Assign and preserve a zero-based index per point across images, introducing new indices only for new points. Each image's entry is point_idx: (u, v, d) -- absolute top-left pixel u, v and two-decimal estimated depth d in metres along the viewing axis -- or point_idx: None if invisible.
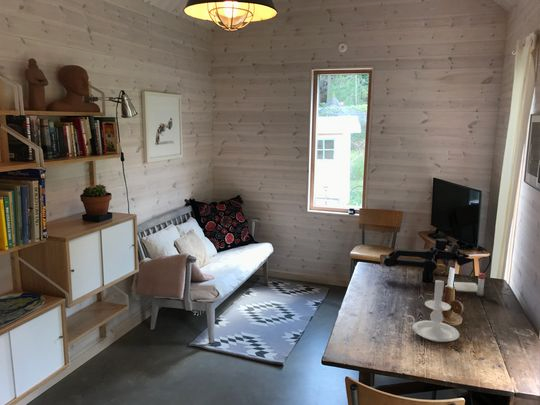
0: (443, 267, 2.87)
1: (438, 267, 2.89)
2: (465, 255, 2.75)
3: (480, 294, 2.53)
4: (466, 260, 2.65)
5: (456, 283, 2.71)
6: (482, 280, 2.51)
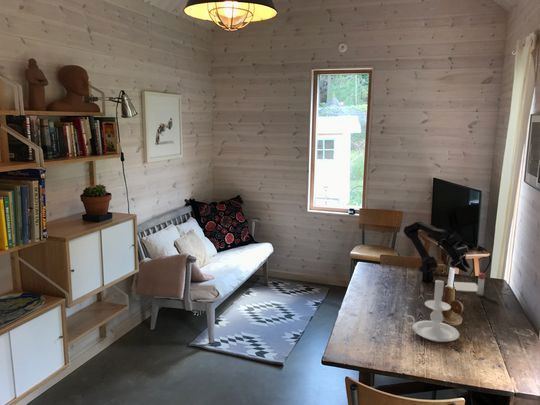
0: (443, 267, 2.87)
1: (438, 267, 2.89)
2: (466, 264, 2.60)
3: (480, 294, 2.53)
4: (461, 266, 2.53)
5: (456, 283, 2.71)
6: (482, 280, 2.51)
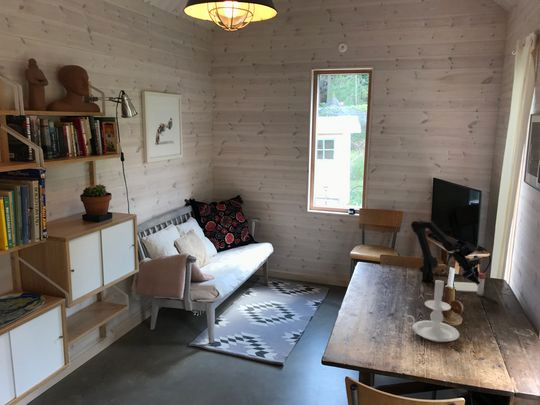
0: (444, 267, 2.87)
1: (439, 267, 2.89)
2: None
3: (480, 294, 2.53)
4: (473, 278, 2.49)
5: (456, 283, 2.71)
6: (482, 280, 2.51)
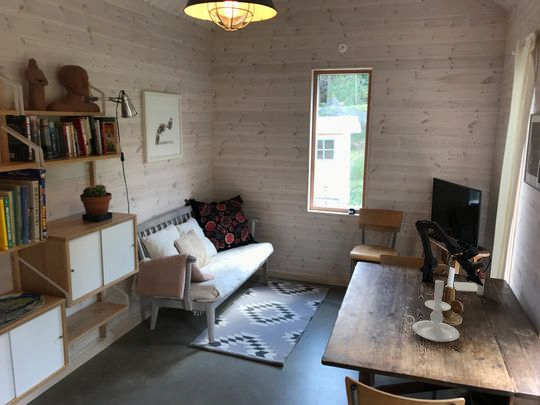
0: (445, 267, 2.87)
1: (440, 267, 2.89)
2: None
3: (480, 294, 2.53)
4: (477, 280, 2.51)
5: (456, 283, 2.71)
6: (482, 280, 2.51)
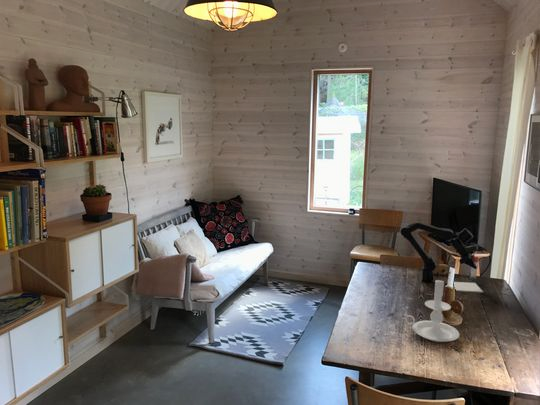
0: (445, 267, 2.87)
1: (440, 267, 2.89)
2: None
3: (473, 277, 2.62)
4: (470, 263, 2.60)
5: (456, 283, 2.71)
6: (475, 263, 2.60)
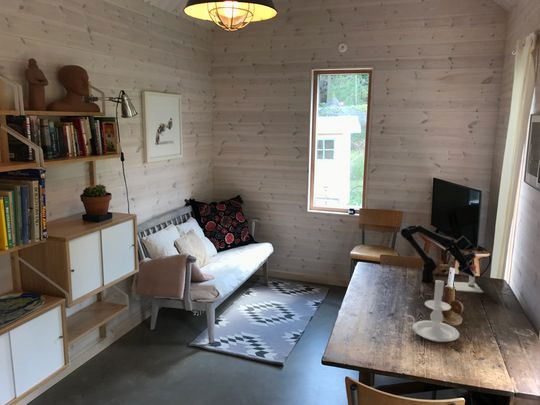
0: (447, 267, 2.87)
1: (441, 267, 2.88)
2: None
3: (471, 285, 2.65)
4: (468, 271, 2.62)
5: (456, 283, 2.71)
6: (473, 272, 2.63)
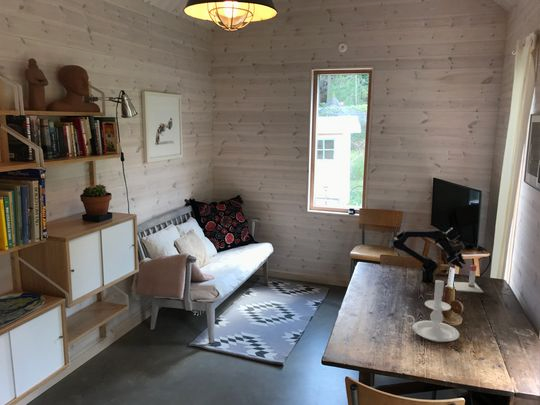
0: (447, 268, 2.86)
1: (442, 268, 2.88)
2: (462, 261, 2.71)
3: (471, 285, 2.65)
4: (456, 263, 2.64)
5: (456, 283, 2.71)
6: (473, 272, 2.63)
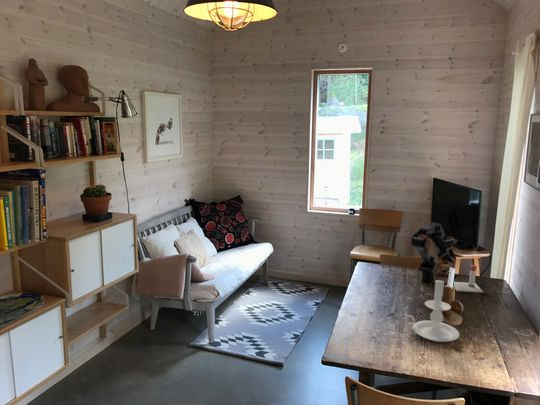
0: (448, 268, 2.86)
1: (443, 268, 2.88)
2: (453, 256, 2.78)
3: (471, 285, 2.65)
4: (447, 257, 2.70)
5: (456, 283, 2.71)
6: (473, 272, 2.63)
